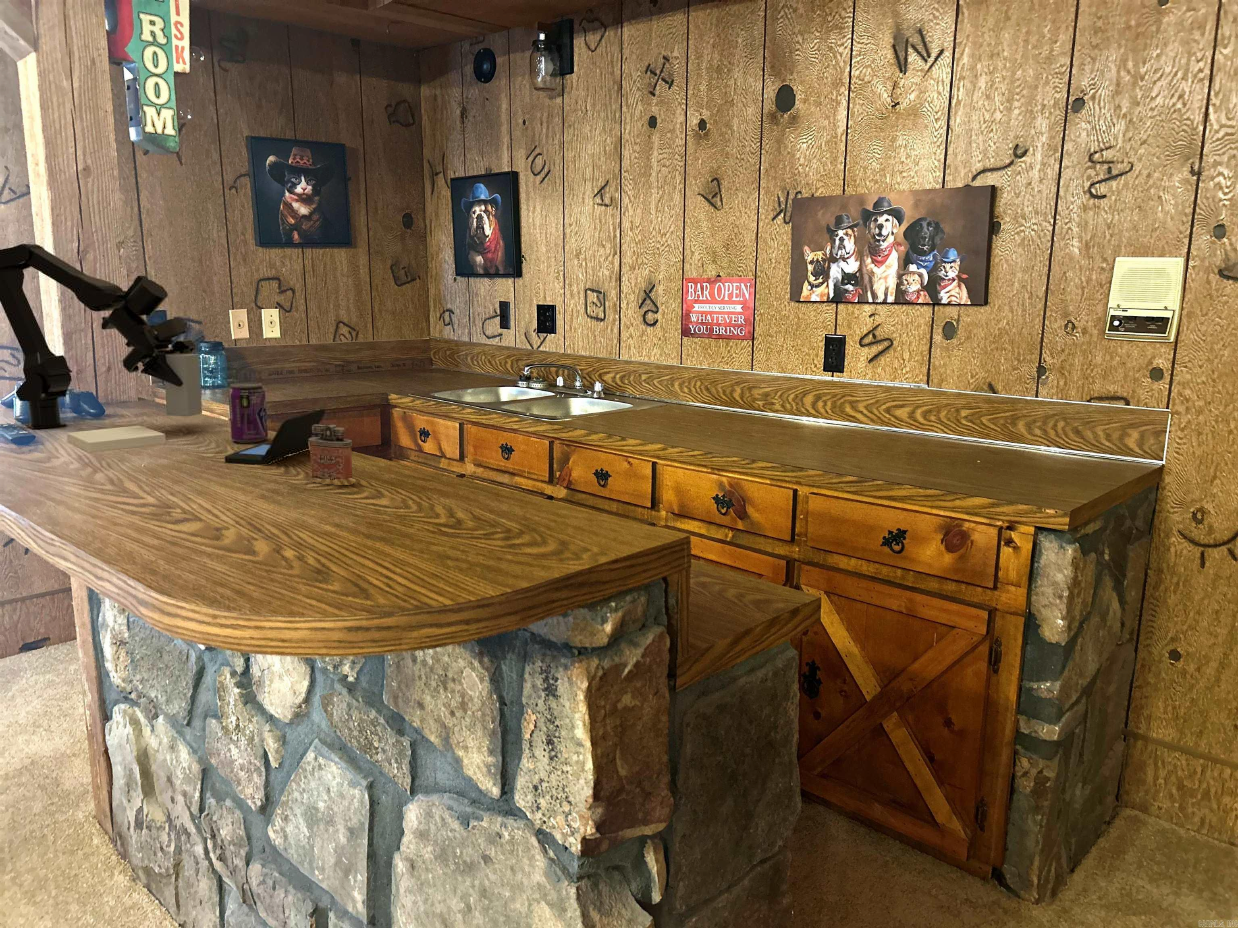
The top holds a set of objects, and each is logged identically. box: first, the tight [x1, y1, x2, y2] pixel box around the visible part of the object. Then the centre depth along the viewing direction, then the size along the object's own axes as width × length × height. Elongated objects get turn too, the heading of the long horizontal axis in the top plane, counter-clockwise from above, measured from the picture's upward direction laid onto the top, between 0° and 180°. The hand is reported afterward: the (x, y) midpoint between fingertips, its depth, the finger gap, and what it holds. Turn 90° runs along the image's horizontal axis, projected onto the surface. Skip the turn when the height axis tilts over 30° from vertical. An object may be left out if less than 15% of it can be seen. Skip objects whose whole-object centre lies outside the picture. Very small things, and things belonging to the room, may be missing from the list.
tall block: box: [164, 353, 203, 417], centre depth 193 cm, size 5×5×13 cm
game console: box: [223, 408, 326, 465], centre depth 172 cm, size 16×14×9 cm
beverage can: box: [228, 382, 269, 444], centre depth 186 cm, size 7×7×12 cm
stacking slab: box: [66, 425, 167, 454], centre depth 182 cm, size 14×14×2 cm
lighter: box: [308, 424, 353, 480], centre depth 152 cm, size 8×3×10 cm, turn 71°
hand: (188, 383), depth 193 cm, fingers closed on tall block, 5 cm apart
